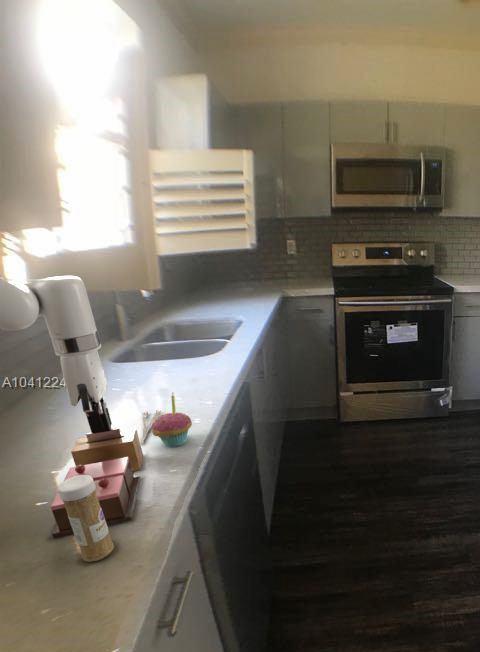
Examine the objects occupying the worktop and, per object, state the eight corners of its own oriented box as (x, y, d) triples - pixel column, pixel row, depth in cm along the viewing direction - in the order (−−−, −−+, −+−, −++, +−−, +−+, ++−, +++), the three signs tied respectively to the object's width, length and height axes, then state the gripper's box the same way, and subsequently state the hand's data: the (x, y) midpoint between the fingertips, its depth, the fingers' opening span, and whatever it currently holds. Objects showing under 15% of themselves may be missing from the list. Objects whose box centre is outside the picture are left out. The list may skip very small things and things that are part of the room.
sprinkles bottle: (116, 554, 73) (93, 483, 68) (82, 567, 71) (57, 494, 66) (112, 539, 76) (91, 470, 71) (81, 550, 74) (56, 480, 69)
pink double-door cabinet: (53, 538, 77) (39, 501, 74) (73, 492, 89) (62, 460, 87) (131, 520, 81) (121, 485, 78) (140, 479, 93) (132, 447, 90)
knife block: (80, 481, 93) (70, 451, 90) (87, 466, 98) (78, 438, 96) (140, 470, 96) (132, 441, 94) (143, 456, 102) (136, 428, 99)
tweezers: (143, 415, 122) (141, 408, 121) (162, 412, 123) (160, 406, 122) (132, 450, 107) (130, 443, 106) (154, 446, 108) (153, 439, 107)
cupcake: (178, 431, 113) (167, 386, 108) (203, 437, 109) (193, 391, 105) (147, 447, 105) (135, 399, 101) (173, 454, 102) (162, 406, 97)
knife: (95, 469, 95) (76, 408, 90) (97, 465, 97) (78, 405, 92) (127, 463, 97) (111, 403, 92) (128, 459, 99) (112, 400, 93)
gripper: (65, 335, 93) (89, 417, 100) (41, 357, 79) (71, 450, 86) (106, 330, 95) (127, 411, 102) (90, 351, 81) (116, 442, 88)
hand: (102, 428), depth 94 cm, fingers closed on knife, 1 cm apart
